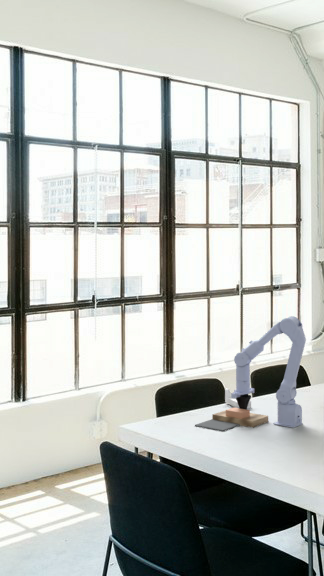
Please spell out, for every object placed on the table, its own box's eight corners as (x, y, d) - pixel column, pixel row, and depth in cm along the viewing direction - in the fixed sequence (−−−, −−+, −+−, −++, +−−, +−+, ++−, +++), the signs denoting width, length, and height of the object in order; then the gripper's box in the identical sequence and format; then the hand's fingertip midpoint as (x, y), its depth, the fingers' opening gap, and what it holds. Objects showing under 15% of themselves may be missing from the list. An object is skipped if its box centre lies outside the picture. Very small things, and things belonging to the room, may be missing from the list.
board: (268, 421, 282) (268, 415, 282) (252, 427, 273) (252, 421, 273) (228, 414, 295) (228, 409, 295) (212, 420, 286) (212, 414, 286)
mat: (239, 425, 277) (239, 424, 277) (223, 431, 268) (223, 430, 268) (212, 420, 286) (212, 419, 286) (194, 426, 277) (194, 424, 277)
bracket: (225, 404, 318) (225, 388, 318) (238, 403, 320) (238, 387, 320) (236, 410, 306) (236, 393, 305) (251, 408, 308) (251, 392, 307)
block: (249, 416, 282) (249, 410, 282) (241, 418, 278) (241, 412, 278) (233, 413, 287) (233, 407, 287) (225, 415, 283) (225, 409, 283)
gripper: (244, 376, 293) (244, 408, 294) (225, 381, 282) (225, 414, 283) (258, 378, 289) (258, 410, 289) (239, 383, 278) (239, 416, 278)
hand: (243, 412), depth 286 cm, fingers closed
